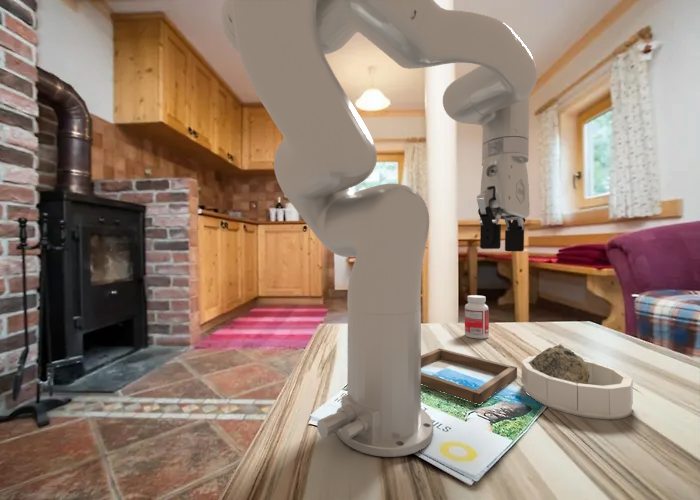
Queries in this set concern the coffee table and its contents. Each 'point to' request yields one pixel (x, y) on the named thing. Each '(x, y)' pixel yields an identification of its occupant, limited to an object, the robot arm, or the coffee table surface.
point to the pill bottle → (476, 317)
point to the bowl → (582, 391)
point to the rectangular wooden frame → (487, 389)
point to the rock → (562, 365)
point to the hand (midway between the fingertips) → (502, 250)
